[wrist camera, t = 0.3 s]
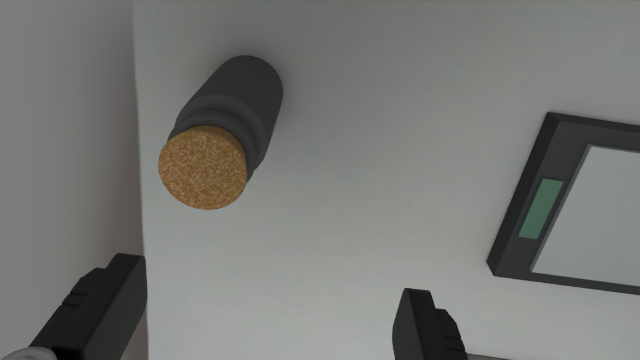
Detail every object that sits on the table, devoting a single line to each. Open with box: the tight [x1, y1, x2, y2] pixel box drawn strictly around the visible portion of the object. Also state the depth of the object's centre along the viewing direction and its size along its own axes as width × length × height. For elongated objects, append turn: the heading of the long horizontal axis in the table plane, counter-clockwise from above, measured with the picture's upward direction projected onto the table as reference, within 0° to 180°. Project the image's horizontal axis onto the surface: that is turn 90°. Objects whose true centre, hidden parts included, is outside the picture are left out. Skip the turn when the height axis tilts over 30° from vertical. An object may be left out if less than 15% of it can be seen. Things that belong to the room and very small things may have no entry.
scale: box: [487, 112, 640, 295], centre depth 40 cm, size 16×16×3 cm
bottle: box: [158, 56, 283, 210], centre depth 30 cm, size 6×6×15 cm
